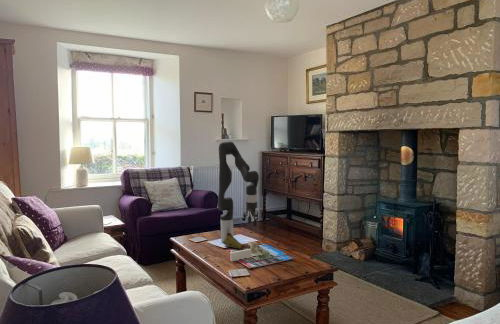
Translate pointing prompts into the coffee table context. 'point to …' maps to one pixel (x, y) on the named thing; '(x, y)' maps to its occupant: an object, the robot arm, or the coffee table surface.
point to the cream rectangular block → (240, 254)
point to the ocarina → (232, 242)
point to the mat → (255, 253)
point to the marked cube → (253, 246)
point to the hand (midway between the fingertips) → (252, 224)
